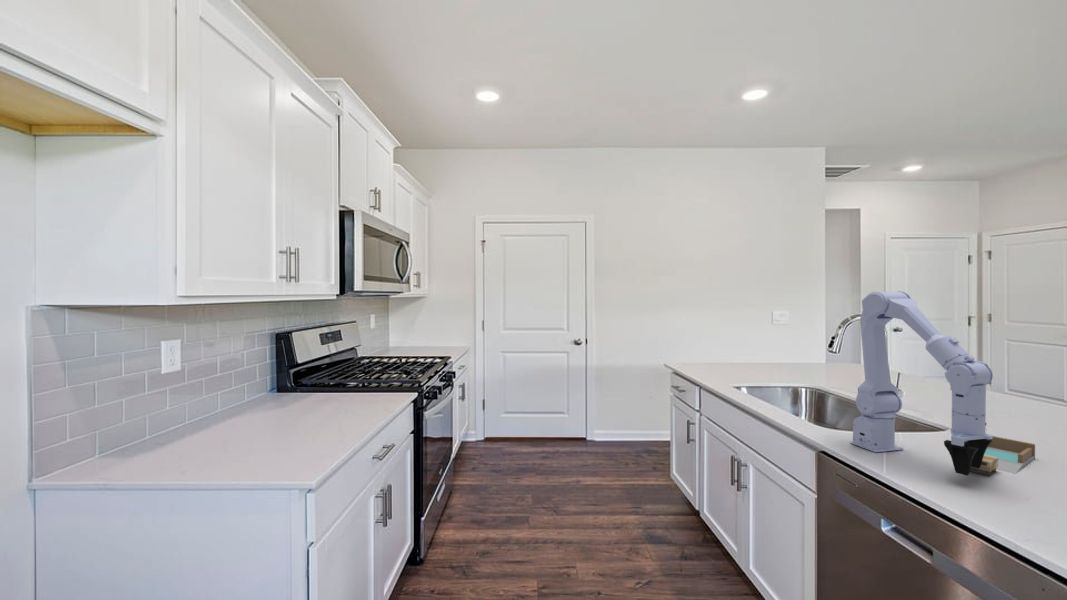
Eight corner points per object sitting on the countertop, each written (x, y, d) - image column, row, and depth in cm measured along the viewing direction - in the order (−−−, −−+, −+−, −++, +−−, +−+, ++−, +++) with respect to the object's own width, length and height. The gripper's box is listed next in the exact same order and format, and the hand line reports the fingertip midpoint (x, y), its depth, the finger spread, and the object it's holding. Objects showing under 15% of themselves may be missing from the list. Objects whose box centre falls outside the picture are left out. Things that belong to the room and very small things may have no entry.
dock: (1015, 477, 107) (1015, 458, 107) (957, 463, 116) (957, 445, 116) (1035, 461, 116) (1035, 444, 116) (980, 449, 125) (980, 433, 125)
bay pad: (1015, 462, 112) (1015, 462, 112) (974, 453, 118) (974, 453, 118) (1023, 456, 115) (1023, 456, 115) (982, 448, 122) (982, 447, 122)
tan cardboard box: (989, 477, 105) (989, 463, 105) (960, 470, 109) (960, 456, 109) (998, 471, 108) (998, 457, 108) (969, 464, 113) (969, 451, 113)
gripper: (981, 422, 97) (980, 483, 98) (1002, 412, 105) (1001, 469, 105) (939, 414, 103) (939, 472, 104) (961, 405, 111) (961, 459, 111)
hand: (967, 470), depth 105 cm, fingers open, 7 cm apart
